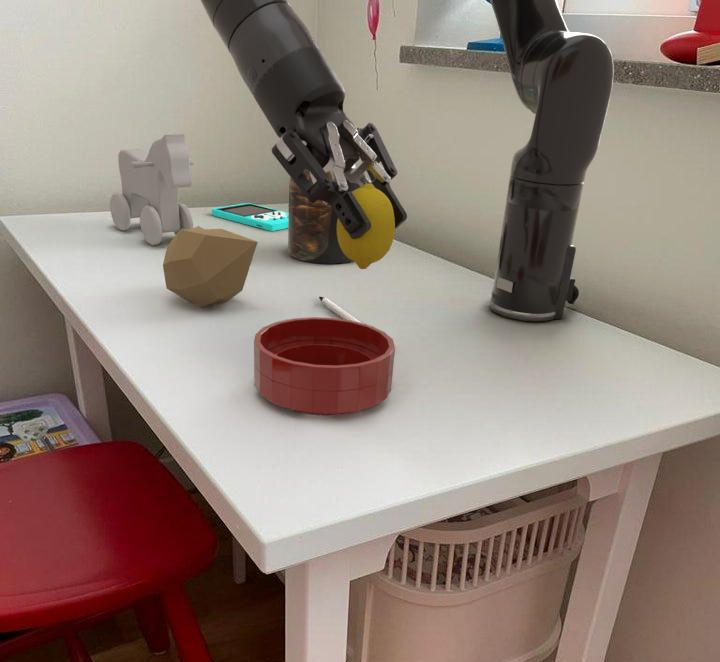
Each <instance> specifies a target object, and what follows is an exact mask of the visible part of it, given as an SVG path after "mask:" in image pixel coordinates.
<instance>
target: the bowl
mask: <svg viewBox="0 0 720 662" xmlns="http://www.w3.org/2000/svg"><path fill="white" fill-rule="evenodd" d="M366 324H367V323H363V322H361V323H359V322H356V321H351V320H345V319H343V318H338V317H337V318H336V317H319V316H314V317H298V318H297V317H295V318H290V319H284V320H280V321H275V322H273V323H270V324H268V325H265V326H263V327H261V329H260V330H258V331H257V332H256V333H255V334H254V340H253V379H254V380H253V381H254V384H253V386H254V388H255V389H256V391H257V392H258V394H259V395H260V396H261V397H262V398H263V399H265V400H267V401H268V402H270V403H272V404H274V405H276V406H279V407H282V408H284V409H287V410H290V411H293V412H295V413H300V414H306V415H313V416H342V415H343V416H344V415H350V414H353V413H358V412H360V411H363V410H367V409H370V408H374V407H376V406H377V405H379V404H381V403H383V402H384V401H386V400H387V399H388V397H389V395H390V393H391V392H392V388H393V387H392V385H393V375H394V365H395V352H396V346H395V341H394V339H393V338H392V337H391V336H390V335H389V334H388V333H386V332H385V331H383V330H381V329H379V328H377V327H375V326H373V325H370V324H367V325H366Z"/></svg>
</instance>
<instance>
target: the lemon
mask: <svg viewBox="0 0 720 662" xmlns="http://www.w3.org/2000/svg"><path fill="white" fill-rule="evenodd" d="M352 193H353V195H354V196H355V198H356V200H357V201H358V203H359V204H360V206H361V208H362V209H363V211H364V213H365V214H366V216H367V218H368V219H369V221H370V223H371V228H370V229H369V230H368V231H367V232H366V233H365V234H364V235H363V236H362V237H361V238H358V239H352V238H351V237H350V235H349V233H348V232H347V231H346V230H345V228H344V227H343V225H342V224H341V222H340V220H339V219H338V220H337V238H338V242H339V245H340V248H341V250H342V251H343V253H344V254H345V255H346V256H347V257H348V258H349V259H350V260H352V261H351V262H354V263H355V265H356V266H357V267H358V268H359V269H360V270H367V268H368V267H370V266H371V264H374V263H377V262H379V261H381V260H382V259H383V258H384V257H385V256H386V255H387V253H389V251H390V250H391V247H392V245H393V241H394V237H395V233H396V231H395V230H396V229H395V218H394V212H393V207H392V204H391V202H390V200H389V199H388V197H387V196H386V195H385V194H384V193H383V192H381V191H380V190H378V189H376V188H375V187H374V186H373V184H370V183H366V184H365V185H364V186H363V187H361V188H358V189H356V190H354V191H352Z"/></svg>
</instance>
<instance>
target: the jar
mask: <svg viewBox="0 0 720 662" xmlns="http://www.w3.org/2000/svg"><path fill="white" fill-rule="evenodd" d="M356 163H357V162H356ZM356 163H355V164H354V165H353V166H352V167H351V168H357V165H356ZM363 174H364V176H365V177H366V175H365V172H364V173H363ZM305 176H306V178H307V179H308V181H309V182H310V183H311V185H313V182H312V178H311V175H310V171H309V170H308V171H307V172H306V174H305ZM346 182H347V185H348V190H347V191H346V192H349V191H354V190H356V189H358V188H361V187H360V186H359V185H358V184H357V183H351V182H349V181H348V180H347V179H346ZM288 213H289V217H288V228H287V248H288V249H287V252H288V255H289V256H290V257H292V258H294V259H295V260H296V259H297V260H299V261H303V262H307V263H308V262H309V263H315V264H345V263H350V262H353V261H352V260H350V259H349V258H348V257H347V256H346V255H345V254H344V253H343V251H342V250H341V248H340V245H339V242H338V238H337V220H338V217H337V215H336V214H335V212H334V211H333V209H332V207H328V206H326V205H325V204H324V203H323V201H320V200H318V201H317V202H316V203H312V202H310V201H309V200H308V199H307V198H306V196H305V195H304V194H303V192H302V191H301V190H300V189H299V187H298V186H297V185H296V183H295V182H294V181H293V179H292V178H291V177H290V176H289V185H288Z"/></svg>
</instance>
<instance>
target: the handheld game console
mask: <svg viewBox="0 0 720 662" xmlns="http://www.w3.org/2000/svg"><path fill="white" fill-rule="evenodd" d="M211 215H212V216H214V217H218V218H222V219H225V220H228V221H232V222H235V223H240V224H243V225H247V226H250V227H255V228H259V229H262V230H265V231H270V232H274V231H279V230H285V229H288V217H289V211H288V212H287V211H283V210H279V209H275V208H271V207H268V206H264V205H260V204H259V205H258V204H254V203H250V202H245V203H237V204H232V205H226V206H219V207H214V208H213V207H212V208H211Z"/></svg>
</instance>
